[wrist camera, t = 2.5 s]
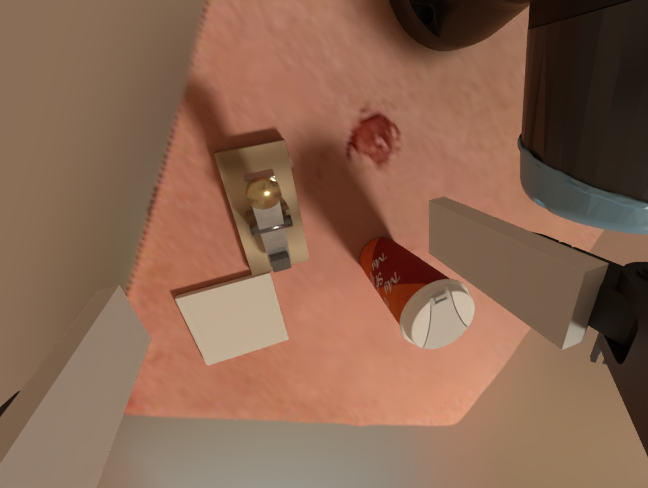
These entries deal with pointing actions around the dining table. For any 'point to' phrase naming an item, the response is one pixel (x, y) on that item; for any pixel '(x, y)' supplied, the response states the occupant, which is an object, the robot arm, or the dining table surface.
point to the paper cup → (417, 294)
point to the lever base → (232, 173)
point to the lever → (269, 217)
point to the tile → (234, 317)
